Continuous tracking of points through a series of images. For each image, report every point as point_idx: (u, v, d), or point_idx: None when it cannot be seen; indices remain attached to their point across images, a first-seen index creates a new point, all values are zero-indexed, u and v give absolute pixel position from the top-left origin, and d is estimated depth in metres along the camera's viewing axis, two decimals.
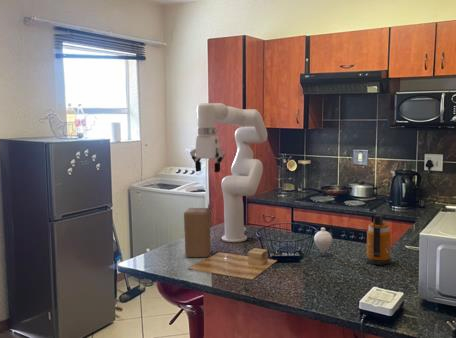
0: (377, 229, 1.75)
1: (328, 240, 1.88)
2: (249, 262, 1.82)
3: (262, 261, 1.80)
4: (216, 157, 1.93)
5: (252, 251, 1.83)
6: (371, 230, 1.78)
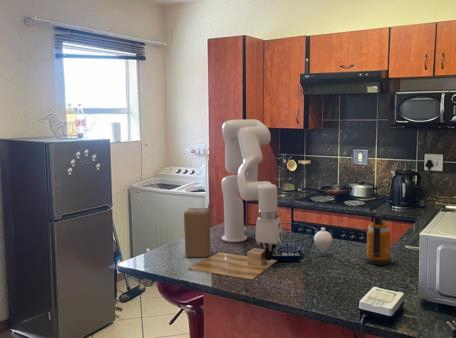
0: (377, 229, 1.75)
1: (328, 240, 1.88)
2: (248, 262, 1.82)
3: (261, 261, 1.80)
4: (272, 244, 1.80)
5: (251, 251, 1.83)
6: (371, 230, 1.78)
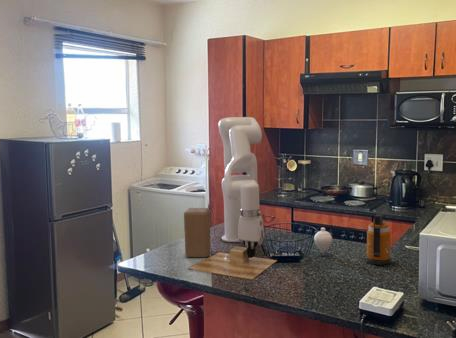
0: (377, 229, 1.75)
1: (328, 240, 1.88)
2: (231, 260, 1.85)
3: (243, 259, 1.83)
4: None
5: (234, 249, 1.86)
6: (371, 230, 1.78)
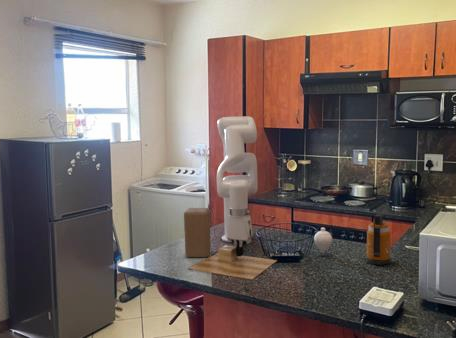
0: (377, 229, 1.75)
1: (328, 240, 1.88)
2: (219, 259, 1.88)
3: (231, 257, 1.85)
4: None
5: (222, 248, 1.88)
6: (371, 230, 1.78)
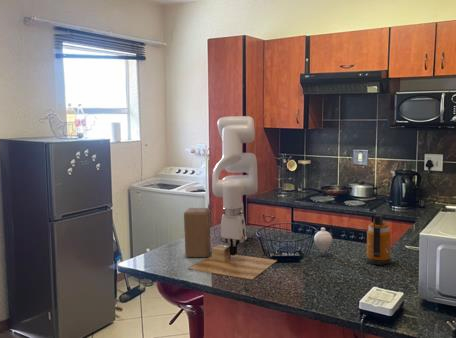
0: (377, 229, 1.75)
1: (328, 240, 1.88)
2: (213, 258, 1.89)
3: (224, 256, 1.87)
4: None
5: (215, 247, 1.89)
6: (371, 230, 1.78)
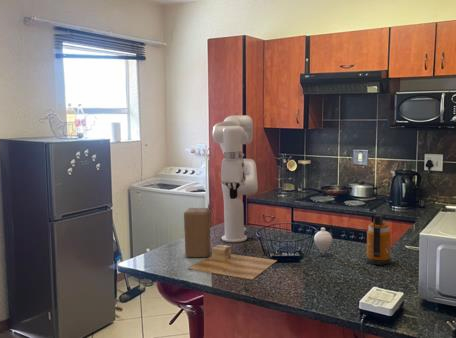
0: (377, 229, 1.75)
1: (328, 240, 1.88)
2: (212, 258, 1.89)
3: (224, 256, 1.87)
4: None
5: (215, 247, 1.89)
6: (371, 230, 1.78)
